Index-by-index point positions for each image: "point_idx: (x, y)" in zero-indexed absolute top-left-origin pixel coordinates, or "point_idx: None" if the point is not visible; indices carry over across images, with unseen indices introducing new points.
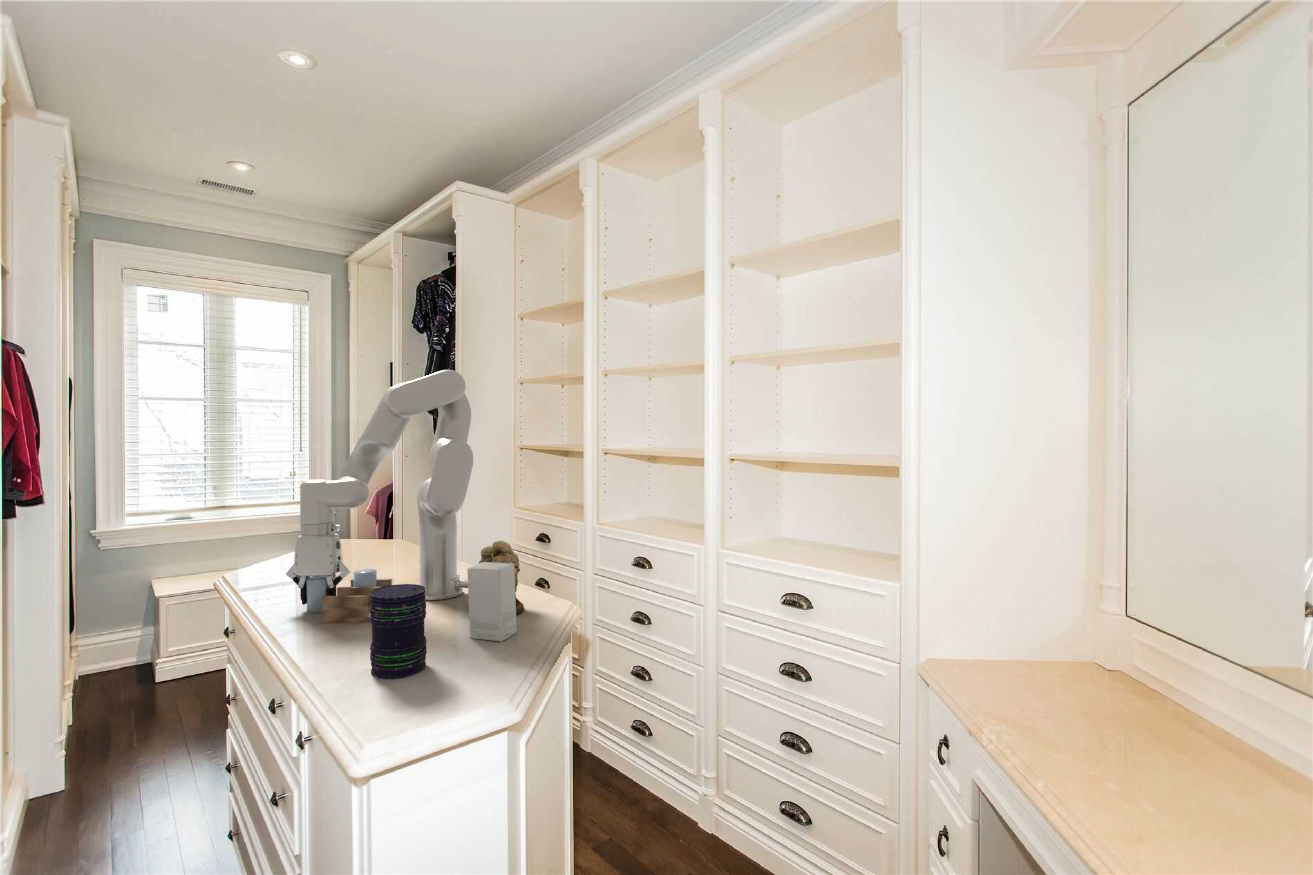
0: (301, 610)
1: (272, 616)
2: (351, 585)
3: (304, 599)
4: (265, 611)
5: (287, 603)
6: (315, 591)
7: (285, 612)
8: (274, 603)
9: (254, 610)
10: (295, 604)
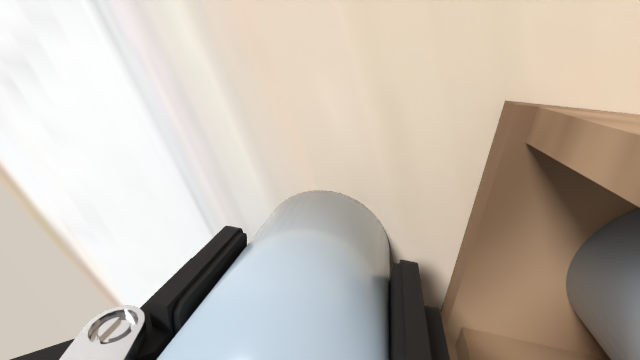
0: None
1: (152, 291)
2: (624, 194)
3: None
4: (71, 204)
5: (73, 54)
6: None
7: (171, 244)
8: (4, 42)
9: (13, 174)
10: (132, 89)
